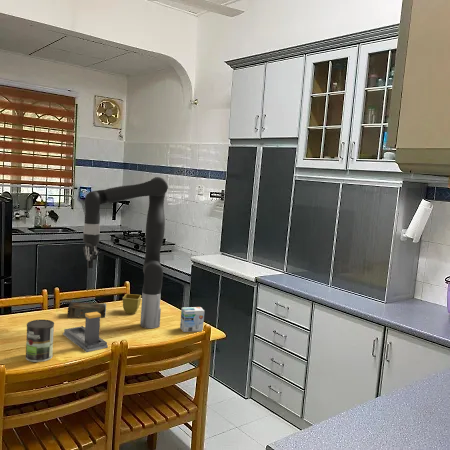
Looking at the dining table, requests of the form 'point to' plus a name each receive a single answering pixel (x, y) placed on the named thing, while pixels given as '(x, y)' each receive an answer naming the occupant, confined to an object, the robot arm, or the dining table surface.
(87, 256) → the robot arm
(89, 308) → the beverage carton
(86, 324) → the fader tab
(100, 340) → the fader console
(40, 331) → the coffee can
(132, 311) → the flower pot
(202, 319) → the light bulb box
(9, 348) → the dining table surface
